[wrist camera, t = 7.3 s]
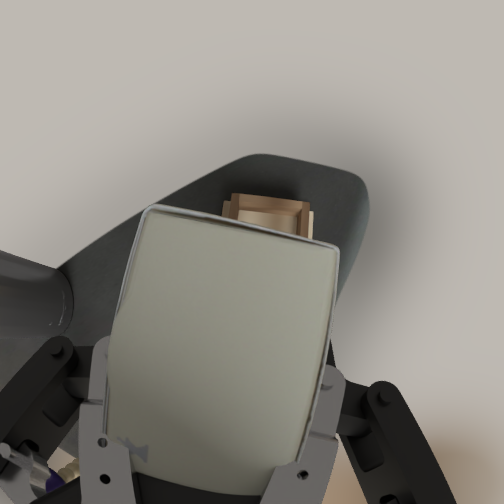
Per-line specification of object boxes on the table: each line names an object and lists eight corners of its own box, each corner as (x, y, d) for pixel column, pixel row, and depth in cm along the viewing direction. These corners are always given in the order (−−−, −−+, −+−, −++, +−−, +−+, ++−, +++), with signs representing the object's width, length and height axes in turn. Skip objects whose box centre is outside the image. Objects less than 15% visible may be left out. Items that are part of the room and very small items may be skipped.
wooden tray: (213, 283, 29) (209, 278, 25) (224, 205, 31) (222, 190, 27) (305, 293, 29) (314, 290, 25) (310, 216, 31) (319, 203, 27)
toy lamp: (89, 445, 23) (17, 497, 7) (92, 420, 24) (10, 469, 8) (119, 462, 23) (57, 528, 7) (124, 437, 24) (53, 503, 8)
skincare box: (252, 386, 16) (283, 513, 4) (185, 372, 16) (97, 471, 4) (272, 289, 17) (351, 239, 5) (205, 275, 17) (140, 196, 5)
